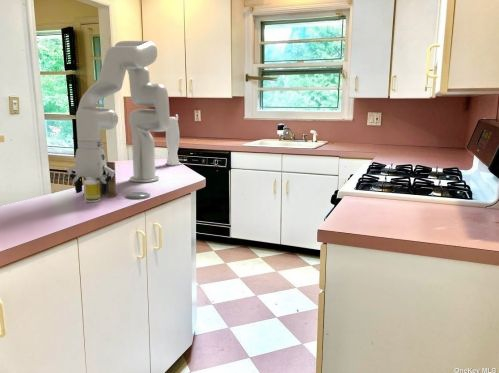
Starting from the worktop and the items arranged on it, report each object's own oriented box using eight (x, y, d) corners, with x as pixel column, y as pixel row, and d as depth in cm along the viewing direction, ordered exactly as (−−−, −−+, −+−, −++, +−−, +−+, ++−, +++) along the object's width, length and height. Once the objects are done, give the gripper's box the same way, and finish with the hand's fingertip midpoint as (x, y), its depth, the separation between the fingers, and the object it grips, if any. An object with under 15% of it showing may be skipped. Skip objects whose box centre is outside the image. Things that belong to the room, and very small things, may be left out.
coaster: (131, 193, 160) (131, 191, 160) (153, 194, 159) (153, 192, 159) (121, 198, 151) (121, 196, 151) (145, 199, 150) (145, 198, 150)
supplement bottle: (103, 200, 147) (102, 174, 145) (89, 203, 143) (87, 176, 141) (95, 198, 150) (94, 172, 148) (81, 200, 146) (80, 173, 144)
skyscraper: (183, 165, 228) (183, 114, 222) (172, 166, 222) (171, 114, 216) (174, 163, 234) (174, 113, 228) (163, 164, 228) (162, 113, 222)
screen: (88, 193, 157) (86, 160, 154) (117, 195, 156) (116, 161, 153) (82, 195, 153) (80, 161, 151) (113, 197, 152) (111, 163, 149)
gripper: (117, 145, 145) (119, 192, 149) (71, 143, 147) (74, 189, 151) (108, 147, 138) (110, 196, 141) (60, 145, 140) (63, 194, 143)
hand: (92, 193), depth 146 cm, fingers open, 9 cm apart
